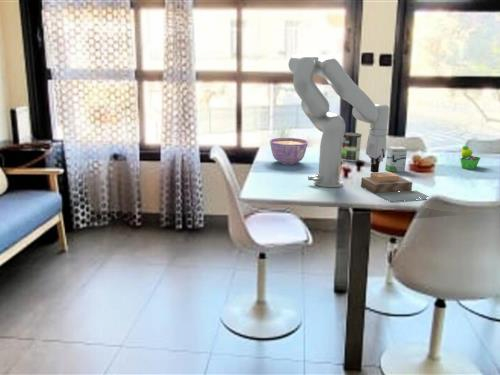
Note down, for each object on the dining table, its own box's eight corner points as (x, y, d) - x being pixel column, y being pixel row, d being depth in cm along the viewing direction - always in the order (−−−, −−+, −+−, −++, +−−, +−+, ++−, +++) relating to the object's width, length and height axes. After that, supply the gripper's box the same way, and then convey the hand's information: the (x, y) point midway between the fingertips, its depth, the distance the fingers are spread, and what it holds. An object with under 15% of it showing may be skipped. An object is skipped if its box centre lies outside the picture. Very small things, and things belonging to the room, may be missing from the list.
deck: (374, 193, 220) (375, 184, 219) (360, 186, 232) (361, 177, 230) (411, 191, 225) (412, 182, 224) (396, 184, 237) (397, 175, 235)
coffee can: (347, 162, 279) (349, 136, 275) (336, 158, 288) (338, 132, 284) (363, 160, 283) (365, 135, 279) (352, 156, 292) (354, 131, 288)
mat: (390, 202, 209) (390, 201, 209) (375, 193, 220) (375, 193, 220) (432, 199, 215) (433, 198, 214) (416, 191, 226) (416, 190, 225)
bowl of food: (308, 167, 263) (309, 145, 260) (269, 166, 264) (270, 144, 261) (305, 159, 283) (306, 138, 280) (268, 158, 283) (269, 137, 280)
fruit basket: (473, 170, 267) (476, 149, 264) (456, 167, 272) (459, 146, 269) (479, 166, 275) (482, 145, 272) (462, 164, 281) (465, 143, 278)
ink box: (389, 171, 259) (391, 148, 256) (384, 169, 264) (387, 146, 261) (405, 171, 261) (407, 148, 258) (400, 169, 266) (403, 146, 263)
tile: (378, 181, 225) (378, 176, 224) (370, 177, 231) (370, 173, 231) (398, 180, 227) (399, 175, 227) (390, 176, 234) (390, 172, 233)
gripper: (362, 129, 238) (359, 168, 243) (379, 135, 224) (375, 176, 229) (377, 129, 240) (373, 167, 245) (394, 134, 226) (390, 175, 231)
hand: (374, 171), depth 237 cm, fingers closed
